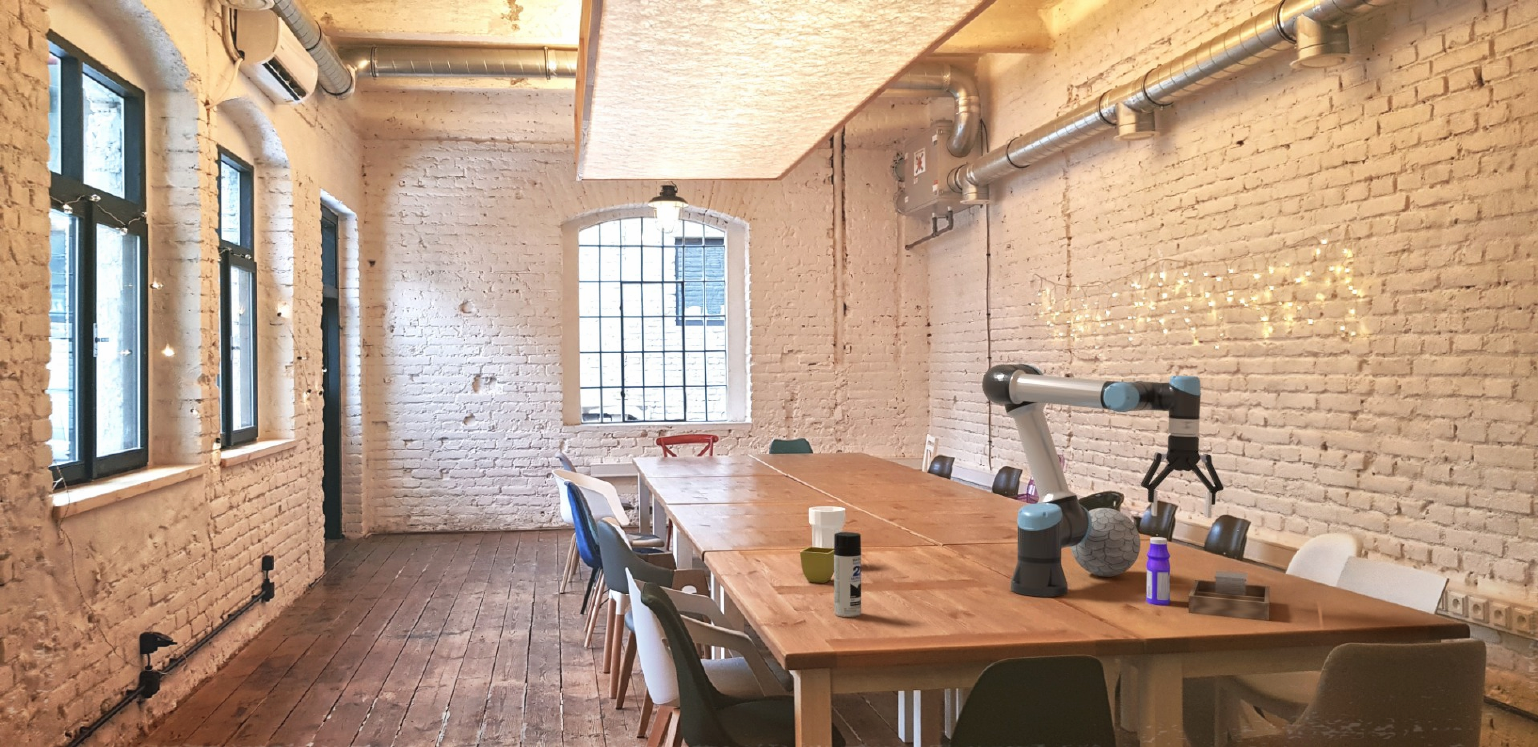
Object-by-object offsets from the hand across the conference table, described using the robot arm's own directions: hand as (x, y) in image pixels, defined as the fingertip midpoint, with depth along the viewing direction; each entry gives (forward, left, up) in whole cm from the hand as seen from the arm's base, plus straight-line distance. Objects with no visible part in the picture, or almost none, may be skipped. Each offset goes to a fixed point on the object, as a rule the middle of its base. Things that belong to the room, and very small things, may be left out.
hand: (1180, 516), depth 278 cm
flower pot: (-95, -17, -23) cm, 99 cm away
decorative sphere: (-23, +28, -23) cm, 43 cm away
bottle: (-5, -5, -23) cm, 24 cm away
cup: (-102, +6, -23) cm, 105 cm away
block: (+12, +2, -22) cm, 25 cm away
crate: (+12, -3, -23) cm, 26 cm away
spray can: (-73, -51, -23) cm, 92 cm away
